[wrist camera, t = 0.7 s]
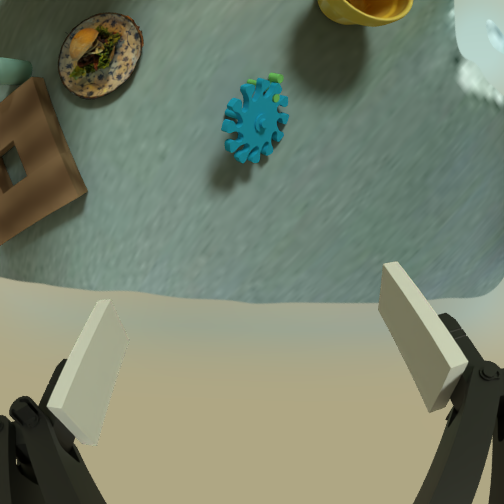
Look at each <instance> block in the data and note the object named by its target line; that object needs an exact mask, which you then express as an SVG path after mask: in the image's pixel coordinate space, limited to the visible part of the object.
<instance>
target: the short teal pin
mask: <svg viewBox="0 0 504 504" xmlns="http://www.w3.org/2000/svg"><path fill="white" fill-rule="evenodd" d="M31 74H32V65H31V63H30V62H29V61H24V60H17V59H10V58H2V57H0V85H22V84H23V83H24V82H26V81H27V80H28V79H29V78H30V77H31Z"/></svg>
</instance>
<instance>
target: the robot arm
mask: <svg viewBox="0 0 504 504" xmlns="http://www.w3.org/2000/svg"><path fill="white" fill-rule="evenodd" d="M378 310H379V312H380V314H381V316H382V318H383V320H384V321H385V323H386V325H387V327H388V329H389V331H390V333H391V335H392V337H393V339H394V341H395V343H396V345H397V346H398V348H399V351H400V353H401V355H402V357H403V359H404V361H405V362H406V364H407V366H408V369H409V371H410V373H411V375H412V377H413V379H414V381H415V383H416V385H417V387H418V390H419V392H420V394H421V396H422V398H423V400H424V403H425V405H426V407H427V409H428V412H429V413H431V412H433V411H436V410H439V409H442V408H444V407H446V405H447V403H448V401H449V399H451V401H452V403H453V405H454V406H453V407H452V409H451V411H450V412H449V414H448V416H447V417H446V420H448V421H447V424H446V427H445V430H444V433H443V436H442V439H441V441H440V444H439V447H438V449H437V452H436V454H435V457H434V459H433V462H432V464H431V467H430V469H429V472H428V474H427V476H426V478H425V480H424V482H423V485H422V487H421V489H420V491H419V493H418V495H417V497H416V499H415V501H414V503H413V504H472V501H473V499H474V496H475V493H476V490H477V488H478V485H479V482H480V479H481V475H482V472H483V469H484V466H485V462H486V459H487V455H488V451H489V447H490V443H491V439H492V435H493V451H492V452H493V453H492V454H493V455H492V473H491V486H490V496H489V504H504V368H503V369H501V368H500V367H498V366H497V365H496V364H495V363H493V362H491V361H484V360H483V358H482V357H481V355H480V354H479V352H478V351H477V349H476V348H475V347H474V345H473V343H472V342H471V340H470V339H469V338H468V336H466V333H465V332H464V331H463V329H461V327H460V325H459V324H458V322H457V321H456V319H454V318H453V317H451V316H450V315H449V314H447V313H444V314H440V315H437V314H436V312H435V311H434V310H433V308H432V307H431V305H430V304H429V303H428V301H427V300H426V299H425V297H424V296H423V294H422V293H421V292H420V290H419V289H418V288H417V286H416V285H415V284H414V282H413V281H412V280H411V278H410V277H409V276H408V275H407V273H406V272H405V271H404V269H403V268H402V267H401V266H400V264H399V263H398V262H391V263H385V264H383V270H382V280H381V289H380V298H379V306H378ZM129 341H130V339H129V337H128V335H127V333H126V331H125V329H124V327H123V325H122V323H121V321H120V318H119V316H118V314H117V312H116V310H115V307H114V305H113V303H112V301H111V299H107V300H98V301H97V303H96V305H95V307H94V309H93V311H92V313H91V314H90V316H89V318H88V320H87V322H86V324H85V326H84V328H83V330H82V331H81V334H80V336H79V337H78V340H77V341H76V343H75V345H74V347H73V349H72V351H71V353H70V356H69V358H68V359H63V360H62V361H61V362H60V363H59V365H58V366H57V367H56V369H55V371H54V373H53V375H52V377H51V379H50V381H49V384H48V385H47V388H46V390H45V392H44V394H43V397H42V399H41V401H40V404H39V406H37V404H36V403H35V402H34V401H33V400H32V399H31V398H30V397H28V396H22V397H19V398H18V399H16V401H14V402H13V404H12V405H11V407H10V410H9V415H10V416H11V417H12V418H13V419H14V420H15V421H14V422H11V421H10V420H9V419H8V418H7V417H6V416H3V415H0V504H106V502H105V500H104V499H103V497H102V495H101V493H100V491H99V490H98V488H97V486H96V484H95V483H94V481H93V479H92V477H91V475H90V473H89V471H88V469H87V467H86V465H85V463H84V461H83V459H82V457H81V455H80V453H79V451H78V449H77V447H76V446H75V444H74V443H73V442H74V439H75V437H76V438H77V439H78V440H79V441H80V442H81V443H82V444H86V445H93V446H97V443H98V440H99V436H100V432H101V429H102V425H103V421H104V418H105V415H106V411H107V408H108V404H109V401H110V398H111V395H112V392H113V389H114V385H115V382H116V379H117V376H118V373H119V369H120V367H121V364H122V361H123V358H124V355H125V352H126V349H127V346H128V343H129ZM16 459H17V465H16Z"/></svg>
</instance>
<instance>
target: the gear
mask: <svg viewBox="0 0 504 504" xmlns="http://www.w3.org/2000/svg"><path fill="white" fill-rule="evenodd" d="M268 78H269V79H262V78H258V79H257V81H256V80H251V79H248V80H247V84H244V85H242V86H241V87H240V91H241V93H242V95H243V99H244V102H243V108H242V101H241V100H240V99H236V98H232V99H231V100H230V101H229V103H228V104H227V109H226V110H225V115H226V116H228V117H231V118H235V119H238V122H237V124H235V122H234V121H231V120H228V119H225V120H224V121H223V124H222V128H221V130H222V131H224V132H227V133H232V132H235V131H236V132H238V138H237V139H236V140H232V139H227V140H226V141H225V149H226V151H229V152H231V153H233V152H235V151H236V149H237V148H238V147H239V146H241V145H243V144H244V147H243V149H242V150H238V151H236V152H235V154H234V158H235V159H236V160H237V161H239V162H241V163H244V162H245V161H246V159H247V160H249V161H251V162H253V163H258V162H259V160H260V152H261V154H264V155H266V156H268V155H270V154H271V153H273V147H272V145H271V137H272V139H273V140H275V141H278V142H279V141H280V140H281V139H282V137H283V136H284V134H283V132H281V131H279V129H278V127H277V120H278V122H280V123H283V124H286V123H287V121H288V118H289V115H288V114H286V113H282V112H281V113H278V112H277V107H278V106H279V105H280V106H283V107H286V106H287V105H288V97H287V96H283V95H280V96H279V93H281V91H282V88H281V86H280V84H279V83H282V81H283V75H281V74H276V73H270V74H269V77H268ZM276 82H277V83H276ZM255 86H256V90H255ZM254 91H255V92H254ZM253 93H254V94H253ZM252 95H253V96H252ZM252 149H253V150H252ZM251 150H252V152H250V151H251ZM248 154H249V155H248ZM247 156H248V157H247Z"/></svg>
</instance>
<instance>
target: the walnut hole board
mask: <svg viewBox="0 0 504 504" xmlns="http://www.w3.org/2000/svg"><path fill="white" fill-rule="evenodd" d="M13 146H16V149H17V151H18V154H19V157H20V159H21V162H22V164H23V167H24V169H25V171H26V174H27V177H25V178H24V179H23V180H21V181H20V182H18V183H17V184H16V185H14V186H13V184H12V182H11V179H10V177H9V174H8V172H7V169H6V167H5V164H4V162H3V159H2V157H1V156H2V155H4V154H5V153H6V152H7V151H8V150H10V149H11V148H12V147H13ZM86 192H88V190H87V188H86V186H85V184H84V182H83V179H82V177H81V175H80V173H79V170H78V168H77V166H76V163H75V161H74V159H73V156H72V154H71V152H70V149H69V147H68V144H67V142H66V139H65V137H64V134H63V132H62V129H61V127H60V124H59V122H58V119H57V116H56V114H55V111H54V108H53V105H52V102H51V100H50V97H49V94H48V91H47V88H46V85H45V82H44V79H43V78H40V77H31V78H30V79H28V80H27V81H26V82H24V83H23V84H22V85H21V86H19V87H18V88H17V89H16V90H15V91H13V92H12V93H11V94H10V95H9V96H8V97H6V98H5V99H4V100H3V101H2V102H1V103H0V245H2V244H3V243H5V242H6V241H8V240H9V239H11V238H12V237H14V236H15V235H17V234H18V233H20V232H21V231H23V230H25V229H26V228H28V227H29V226H31V225H32V224H34V223H36V222H37V221H39V220H40V219H42V218H44V217H45V216H47V215H49V214H50V213H52V212H54V211H55V210H57V209H59V208H61V207H62V206H64V205H66V204H68V203H69V202H71V201H73V200H75V199H76V198H78V197H80V196H81V195H83V194H84V193H86Z"/></svg>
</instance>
